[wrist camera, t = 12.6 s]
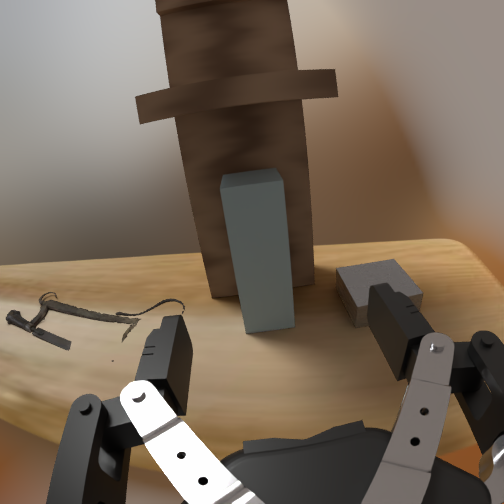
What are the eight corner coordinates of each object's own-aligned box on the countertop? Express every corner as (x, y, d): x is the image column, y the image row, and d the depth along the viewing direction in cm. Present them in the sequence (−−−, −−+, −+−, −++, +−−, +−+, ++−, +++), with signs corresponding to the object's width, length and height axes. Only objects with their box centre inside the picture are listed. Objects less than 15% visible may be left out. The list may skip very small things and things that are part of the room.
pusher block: (246, 333, 25) (219, 188, 19) (244, 304, 28) (223, 174, 23) (295, 327, 24) (283, 180, 19) (288, 298, 28) (275, 167, 23)
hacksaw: (6, 324, 29) (1, 315, 28) (54, 283, 38) (50, 274, 37) (138, 381, 21) (132, 369, 21) (193, 305, 30) (190, 293, 29)
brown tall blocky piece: (205, 369, 21) (121, -39, 9) (214, 276, 33) (168, 16, 21) (340, 350, 21) (308, -65, 9) (306, 263, 33) (278, 1, 21)
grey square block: (355, 331, 23) (357, 306, 22) (335, 290, 29) (336, 268, 28) (418, 316, 23) (423, 293, 22) (391, 280, 29) (393, 258, 28)
